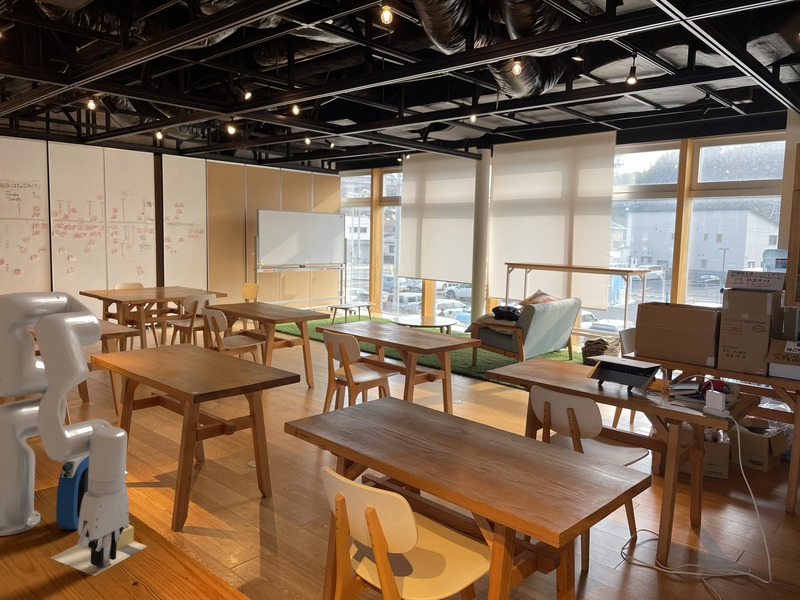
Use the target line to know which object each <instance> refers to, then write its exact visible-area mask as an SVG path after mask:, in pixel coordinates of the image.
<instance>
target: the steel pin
mask: <svg viewBox="0 0 800 600" xmlns="http://www.w3.org/2000/svg"><path fill="white" fill-rule="evenodd" d="M111 539H112V532H111V533H109V534H107V535H105V536H103V540H102V548H101V549H103V550H104V557H103V566H102V567H98V566H96V567H97V568H106V567H108V566H109V565H110V556H111Z"/></svg>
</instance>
